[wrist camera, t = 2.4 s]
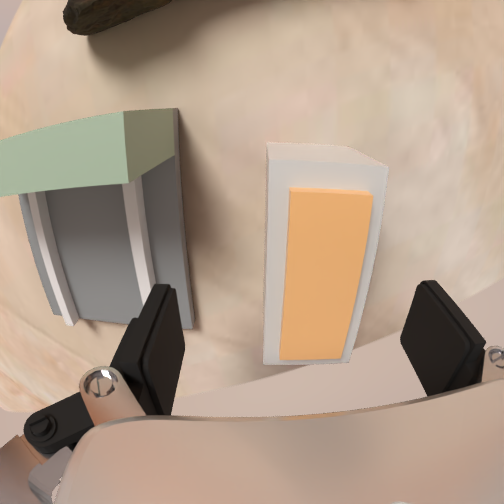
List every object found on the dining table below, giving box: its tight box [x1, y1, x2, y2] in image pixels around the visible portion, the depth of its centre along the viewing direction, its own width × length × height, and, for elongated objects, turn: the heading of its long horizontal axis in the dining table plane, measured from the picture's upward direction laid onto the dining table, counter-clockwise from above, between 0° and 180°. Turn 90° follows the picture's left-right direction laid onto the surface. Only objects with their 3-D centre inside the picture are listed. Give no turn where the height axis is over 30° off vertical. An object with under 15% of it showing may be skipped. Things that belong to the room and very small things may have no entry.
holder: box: [263, 142, 389, 365], centre depth 15 cm, size 4×10×7 cm, turn 0°
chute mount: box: [0, 108, 195, 329], centre depth 15 cm, size 12×14×7 cm
